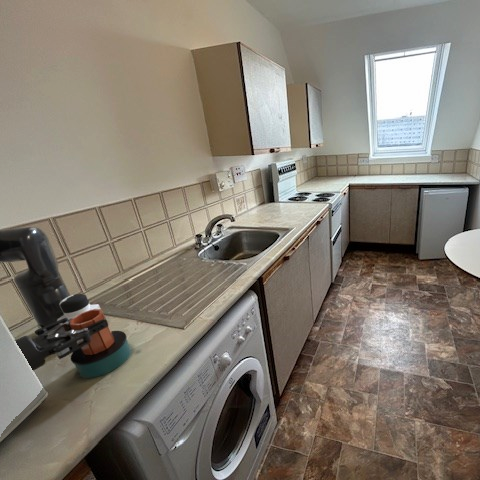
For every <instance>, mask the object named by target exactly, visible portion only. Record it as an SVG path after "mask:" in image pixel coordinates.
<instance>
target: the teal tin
mask: <svg viewBox="0 0 480 480" xmlns="http://www.w3.org/2000/svg"><path fill="white" fill-rule="evenodd" d="M111 332H112V334H113V337H114V343H113V344H112V345H111V346H110V347H108V348H107V349H105V350H104V351H101V352H99V353H97V354H93V355H85V354H84V353H83V351H82V349H81V348H79V349H78V350H76V351H74V352H72V353H71V354H70V361H71V363H72V364H74V367H75V368H76V370H77V372H78V374H79V376H80V377H82V378H84V379H93V378H98V377H102V376H104V375H106V374H108V373H111V372H112V371H115V370H116V369H117V368H119V367H120V366H121V365H123V364H124V363H125V362H126V361H127V360H128V359H129V357H130V356H131V353H132V349H131V346H130V344H129V341H128V339H127V338H128V337H127V334H126V333H125V332H124V331H122V330H111Z"/></svg>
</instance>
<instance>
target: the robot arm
mask: <svg viewBox="0 0 480 480" xmlns="http://www.w3.org/2000/svg"><path fill="white" fill-rule="evenodd" d="M24 261H25V262H26V265H27V269H25V270H23V271H21V272H19V273H17V274H16V275H15V276H14V277H13V282H14V284H15V286H16V287H17V290H18V291H19V293H20V296H21V297H22V299H23V300H24V302H25V304H26V306H27V308H28V310H29V311H30V313H31V315H32V318H34V321H35V322H36V327H37V328H38V329H36V330H34V333H35V336H36V337H34V338H33V339H32V337H30V336H28V335H24V336H21V337H19V338H16V339H14V341H16V343H17V345H18V346H19V348H20V349H21V351H22V353H23V354H24V356H25V358H26V359H27V361H28V363H29V365H30V366H31V368H32V370H33V371H32V372H34V371H36V370H37V369H39V368H41V367H43V366H44V365H46V358H48V357H50V356H53V355H56V356H57V358H58V359H59V360H61V359H64V358H66V357H68V356H70V355H72V353H73V352H74V351H76V350H78V349H79V348H81V347H83V346H84V345H86V344H88V343H90V342H91V335H93V334H95V333H97V332H99V331H100V330H102V329H104V328H106V327H108V325H109V323H107V322H108V320H107V319H106V320H105V319H102V320H100V321H98V322H96V323H94V324H92V325H90V326H88V327H87V328H83V329H80V330H77V331H75V330H72V328H71V326H70V320H71V319H73V318H71V319H68V318H64V319H61V320H59V321H57V319H59V318H60V317H61V316H63V315H64V313H63V311H62V309H61V307H60V305H59V304H60V302H61V301H62V300H63V299H65V298H67V297H69V296H71V294H70V292H69V289H68V288H67V285H66V283H65V281H64V279H63V276H62V274H61V272H60V270H59V262H58V259H57V257H56V253H55V252H54V248H53V246H52V243H51V241H50V238H49V237H48V235H47V234H46V232H45V231H43V229H40V228H39V227H36V226H27V227H16V228H15V227H14V228H6V229H0V263H15V262H17V263H18V262H24ZM61 323H63V324H61ZM81 333H82V334H81ZM78 334H80V335H78ZM77 335H78V336H77ZM80 341H83V342H81V343H78V342H80Z"/></svg>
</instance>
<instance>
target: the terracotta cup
mask: <svg viewBox="0 0 480 480" xmlns="http://www.w3.org/2000/svg"><path fill="white" fill-rule="evenodd" d="M102 319H105V320H107V317H106V316H105V313H104V310H103V309H102V308H100V309H93V310H89V311H86V312H83V313H81V314H79V315H77V316H76V317H74V318H73V319H71V320H70V326H71V328H72V330H75V331H77V330H80V329H83V328H87V327H88V326H90V325H92V324H94V323H96V322H98V321H100V320H102ZM107 323H108V321H107ZM111 331H112V330H111V327H110V325H109V323H108V327H106V328H104V329H102V330H100V331H99V332H97V333H95V334H93V335H91V342H90V343H88V344H86V345H84V346H83V347H81V349H82V351H83V353H84V354H85V355H93V354H97V353H99V352H101V351H104V350H105V349H107V348H108V347H110V346H111V345H112V344H113V343H114V337H113V334H112V332H111ZM81 334H82V333H81ZM78 335H80V334H78ZM78 335H77V336H78ZM81 342H83V341H80V342H78V344H79V343H81Z"/></svg>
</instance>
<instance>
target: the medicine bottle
mask: <svg viewBox="0 0 480 480" xmlns="http://www.w3.org/2000/svg"><path fill="white" fill-rule="evenodd" d="M59 305H60V307H61V309H62V311H63V313H64V315H63V316H61V317H60V318H59V319H57V321H59V320H61V319H64V318H68V319H71V318H74V317H76V316H77V315H79V314H81V313H83V312H86V311H89V310H93V309H101V306H100V304H98V303H97V304H90V302H89V298H88V297H87V295H86V294H84V293H77V294H72V295H70V296H69V297H67V298H65V299H63V300H62V301H61V302H60V304H59ZM61 324H63V323H61Z"/></svg>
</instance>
